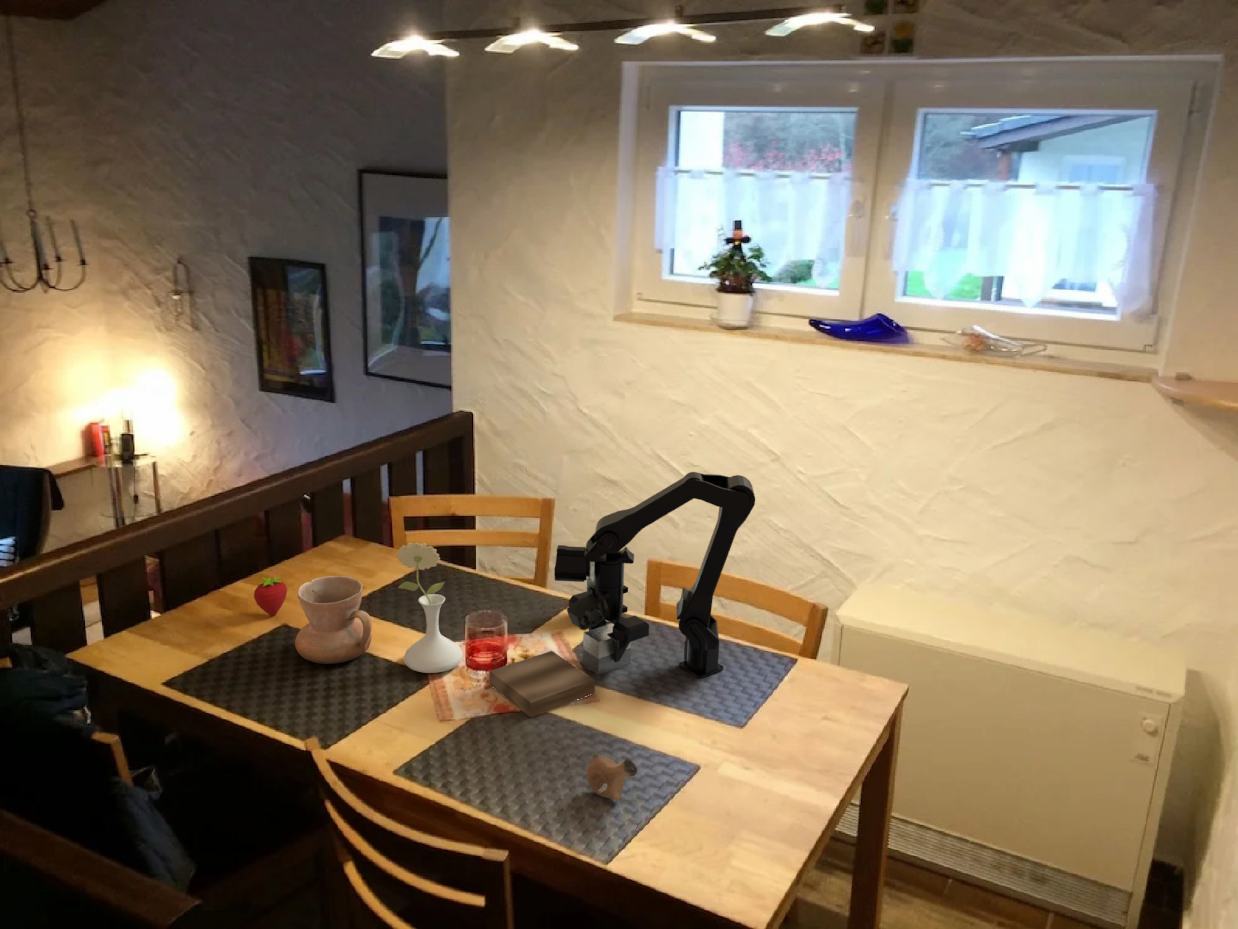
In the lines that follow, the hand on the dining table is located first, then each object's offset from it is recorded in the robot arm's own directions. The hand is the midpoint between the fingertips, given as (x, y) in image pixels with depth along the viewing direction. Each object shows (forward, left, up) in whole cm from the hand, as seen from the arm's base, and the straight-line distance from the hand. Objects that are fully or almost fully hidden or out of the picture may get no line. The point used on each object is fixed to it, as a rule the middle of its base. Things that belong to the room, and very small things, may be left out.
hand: (607, 655), depth 201 cm
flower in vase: (+20, +28, -2) cm, 34 cm away
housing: (0, 0, -2) cm, 2 cm away
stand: (-1, +16, -2) cm, 16 cm away
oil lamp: (-35, +26, -2) cm, 44 cm away
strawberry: (+58, +45, -2) cm, 73 cm away
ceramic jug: (+34, +41, -2) cm, 53 cm away
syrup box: (+18, -12, -2) cm, 22 cm away
